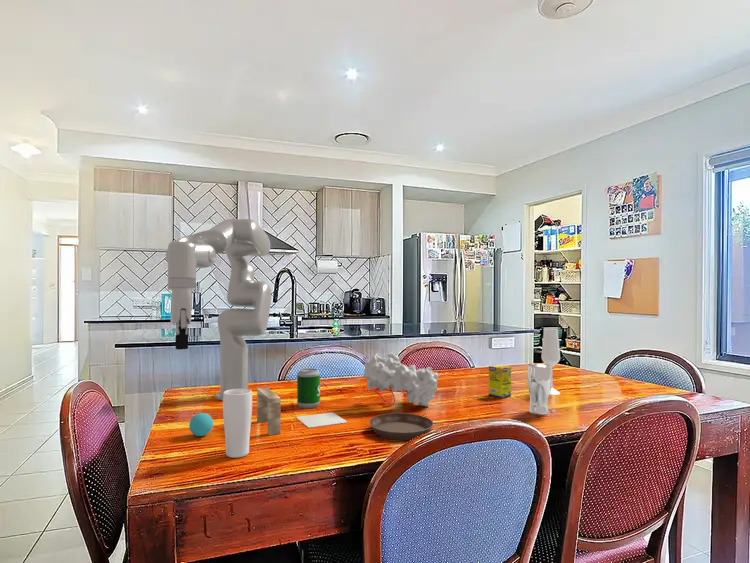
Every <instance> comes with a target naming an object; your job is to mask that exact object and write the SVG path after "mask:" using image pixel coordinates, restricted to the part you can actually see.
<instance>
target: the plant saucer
mask: <svg viewBox="0 0 750 563" xmlns="http://www.w3.org/2000/svg"><path fill="white" fill-rule="evenodd" d="M368 423H369V425H370V427H371V428H372V430H373V432H375V433H376V434H377V435H378V436H379V435H380V437H381V438H385V439H389V440H390V439H391V440H401V441H402V440H403V441H404V440H413V439H412V438H415V437H417V436H420V435H422V434H425V433H427V432H428V433H429V432H430V431H431V430H432V428H433V427H434V422H433V420H431V419H430V418H428V417H426V416H423V415H419V414H414V413H407V412H393V413H383V414H379V415H375V416H373V417H371V418H370V419H369V421H368ZM428 433H427V434H428Z"/></svg>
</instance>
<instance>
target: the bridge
mask: <svg viewBox="0 0 750 563" xmlns="http://www.w3.org/2000/svg"><path fill="white" fill-rule="evenodd" d="M281 406H282V405H281V397H280V396H279V395H277V394H276V393H275V392H274V391H273V390H271V389H270V388H269V387H267V386H266V387H257V388H256V422H257V423H258V424H261V423H267V435H269V436H272V435H280V434H281V413H282V412H281V409H282V408H281Z"/></svg>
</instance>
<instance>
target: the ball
mask: <svg viewBox="0 0 750 563" xmlns="http://www.w3.org/2000/svg"><path fill="white" fill-rule="evenodd" d="M188 428H189V430H190V432H191V434H192V435H193V436H196V437H203V436H206V435H208V434H210V432H211V431H212V430H213V428H214V421H213V418H212V416H211V415H210V414H208V413H206V412H200V413H196V414H194V415H193V416H192V417H191V419H190V421H189V424H188Z"/></svg>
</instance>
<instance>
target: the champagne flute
mask: <svg viewBox="0 0 750 563" xmlns="http://www.w3.org/2000/svg"><path fill="white" fill-rule="evenodd" d="M559 341H560V340H559V332H558V328H556V327H555V328H554V327H553V328H551V327H548V328H546V327H545V328H543V335H542V346H541V347H542V348H541V361H542V362H543V364H547V365H550V376H551V382H550V390H549V395H554V396H555V395H557V396H558V395H560V394H561V392H560V391H558V390H557V389H555V388H554V387H553V368H554V367H555V366H556V365H557V364H559V362H560V361H561V351H560V343H559Z"/></svg>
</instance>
